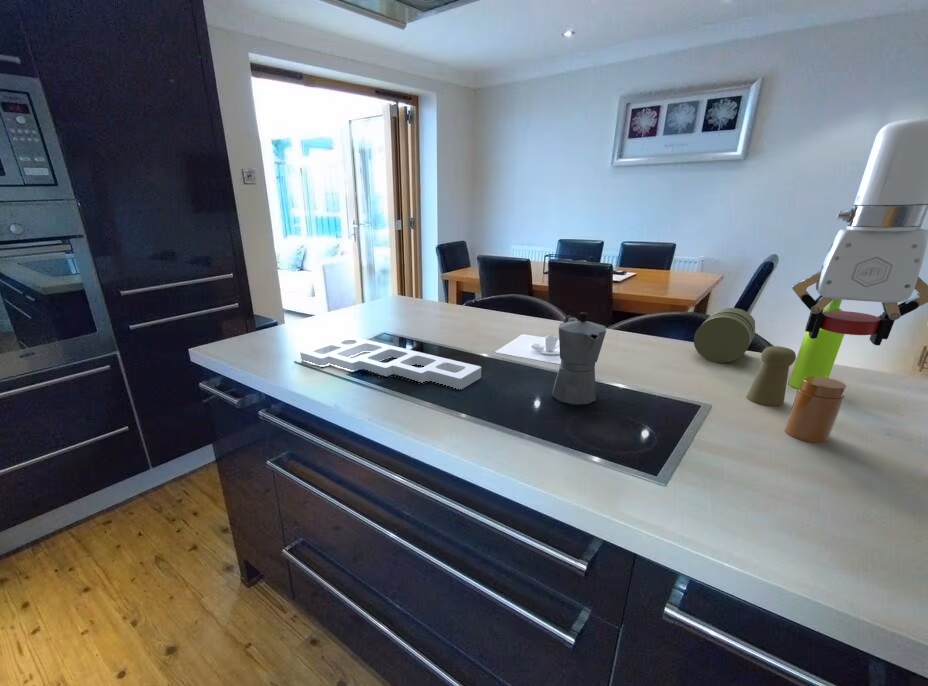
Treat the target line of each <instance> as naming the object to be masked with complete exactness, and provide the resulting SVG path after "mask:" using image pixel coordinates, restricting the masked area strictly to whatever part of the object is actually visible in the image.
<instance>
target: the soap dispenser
mask: <svg viewBox="0 0 928 686" xmlns="http://www.w3.org/2000/svg"><path fill="white" fill-rule="evenodd" d="M842 301H843V300H841V299H833V300H832V301H831V302H830V303H829V304H828V305H827V306H826V307H825V308H824V309H823V312H827V311H843V309H841V308H840V307H841V304H842ZM823 312H822V313H823ZM844 337H845V334H841V333H835V332H830V331H827V330H823V329H821V328H820V329H819V332H818V335H817V338H815V339H812V338H810V336H809V332H806V331H805V332H804V335H803V338H802V341H801V344H800V347H799V349H798V353H797V355H796V359H795V361H794V365H793V368H792V371H791V373H790V374H791V375H790V377H789V380H788V385H789V386H790V387H792V388H794V389H797V390H798V388H799V387H800V386H802V384H803V379H804V378H805V377H810V376H817V377H825V378H830V375H831V372H832V369H833V366H834V364H835V361H836V358H837V355H838V353H839V350H840V347H841V345H842V342H843V339H844Z"/></svg>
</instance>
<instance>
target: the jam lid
mask: <svg viewBox="0 0 928 686" xmlns="http://www.w3.org/2000/svg"><path fill="white" fill-rule="evenodd" d="M823 314H824V317H823V320H822V323H821V326H820V328H821V329H823V330H827V331H830V332H835V333H841V334H844V335H850V336H871V335H873V334H875V333H876V332H877V329H878V326H879V324H880V321H881V319H880V318H879V317H878V316H877V315H873V314H869V313H864V312H857V311H846V310H842V311H827V312H823Z"/></svg>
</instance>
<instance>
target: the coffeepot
mask: <svg viewBox="0 0 928 686" xmlns="http://www.w3.org/2000/svg"><path fill="white" fill-rule="evenodd" d="M588 315H589V313H588V312H585V311H582V312H579V320H578V318H576V317H573V316H572V315H566V316H565V318H564V320H563V321H562V322H560V323H559V325H558V338H559V346H560V359H561V364H559V368H558V371H557V375H556V378H555V381H554V384H553V389H552V394H551V396H552V397H553V398H554V399H555V400H556V401H558V402H561V403H564V404H568V405H574V406H584V405H591V404H592V403H594V402H596V397H597V396H596V369H595V368H596V363H597V362H598V360H599V357H600V353H601V350H602V346H603V343H604V340H605V338H606V333H607V327H606V325H603V324H599V323H596V322H593V321H587V318H588Z"/></svg>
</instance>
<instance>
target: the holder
mask: <svg viewBox="0 0 928 686" xmlns="http://www.w3.org/2000/svg"><path fill="white" fill-rule="evenodd" d="M362 351H372V352H370V353H363V354H361V355H358V356H356V357H352V358H348V357H349V356H351V355H355V354H357V353H360V352H362ZM299 353H300V360H301V359H302V360H305V361H309V362H312V363H315V364H318V365H326V364H328V363H330V364H333V365H337V366H340V367H343V368H347V369H350V370H356V369H359V368H361V369H365V370H368V371H371V372H374V373H378V374H380V375H384V376H388V375H391V374H396V375H399V376H403V377H406V378H409V379H412V380H415V381H418V382H421V383H423V382H425V381H427V382H430V381H432V382H431V383H433V382H436V383H435V384H437V383H439V384H438V385H440V384H443V385H442V386H444V385H446V386H445V387H447V386H450V387H449V388H451V387H453V388H452V389H455V388H456V389H455V390H458V389H459V391H460V389H461V390H463V389H464V388H467V387H468V386H470V385H472V384H473V383H475V382H476V381H478V380H480V379H481V378H482V366H480V365H476V364H471V363H468V362H464V361H458V360H454V359H451V358H446V357H442V356H437V355H433V354H430V353H425V352H421V351H416V350H411V349H407V348H404V347H399V346H395V345H391V344H387V343H384V342H383V343H382V342H378V341H374V340H371V339H365V338H361V337H357V336H354V335H353V336H352V335H347V336H345V337H342V338H338V339H335V340H332V341H330V342H329V341H328V342H325V343H323V344H320V345H317V346H314V347H311V348H308V349H304V350H302V351H299ZM388 357H394V358H397V359H391V360H390V361H388V362H379V361H380V360H383V359H386V358H388ZM415 364H417V366H412V365H415ZM418 365H421V366H420V367H418ZM422 366H424V367H422ZM425 383H426V382H425ZM423 384H424V383H423Z"/></svg>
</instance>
